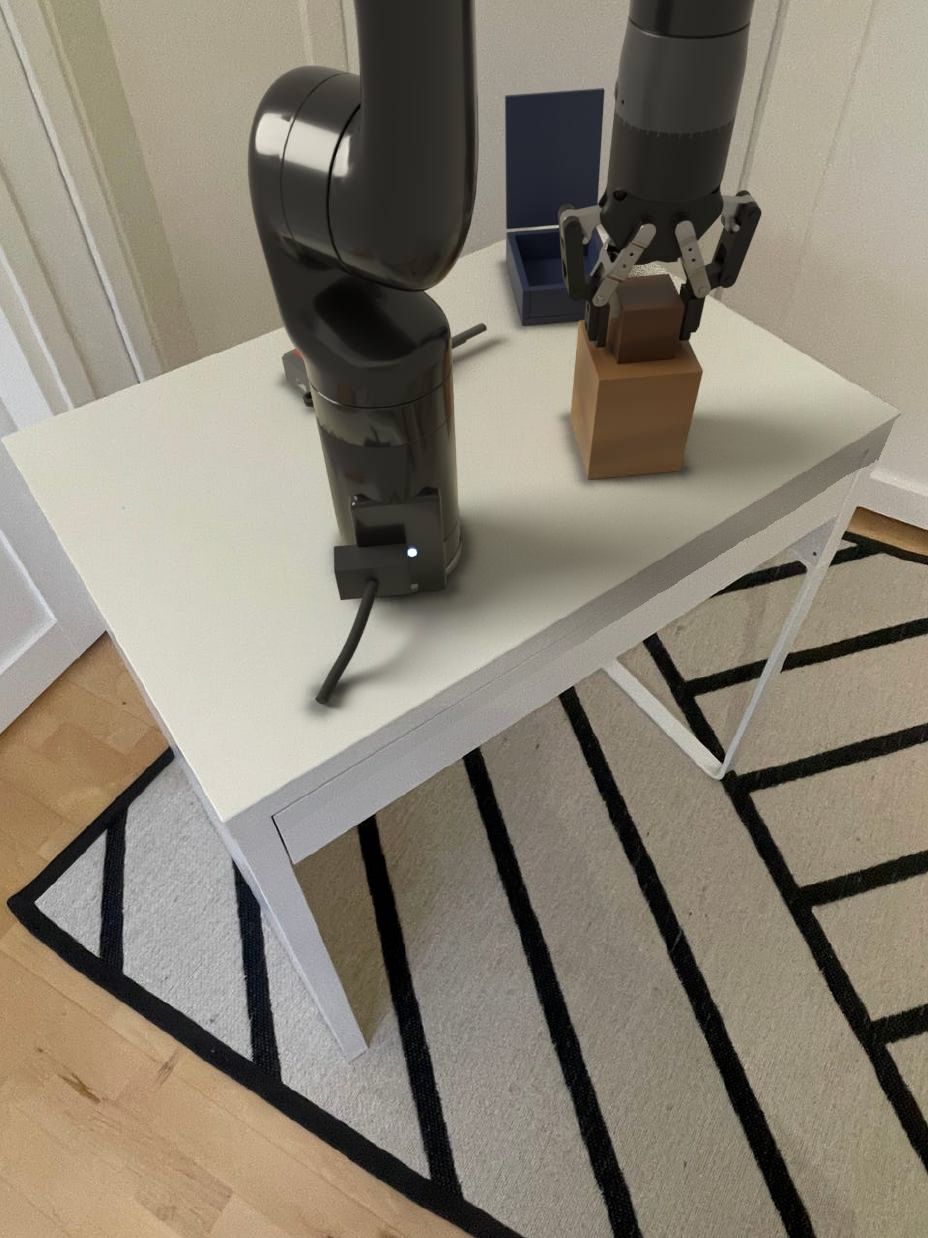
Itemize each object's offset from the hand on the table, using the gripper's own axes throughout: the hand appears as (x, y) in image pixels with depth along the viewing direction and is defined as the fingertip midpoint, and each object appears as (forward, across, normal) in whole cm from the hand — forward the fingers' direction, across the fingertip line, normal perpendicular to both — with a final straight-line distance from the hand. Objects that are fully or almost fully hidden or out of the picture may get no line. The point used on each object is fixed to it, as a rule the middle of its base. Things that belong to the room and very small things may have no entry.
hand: (640, 337), depth 66 cm
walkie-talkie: (+11, -20, +15) cm, 27 cm away
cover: (0, -1, +31) cm, 31 cm away
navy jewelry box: (+11, -1, +25) cm, 27 cm away
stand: (+11, 0, 0) cm, 11 cm away
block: (+1, 0, 0) cm, 1 cm away
